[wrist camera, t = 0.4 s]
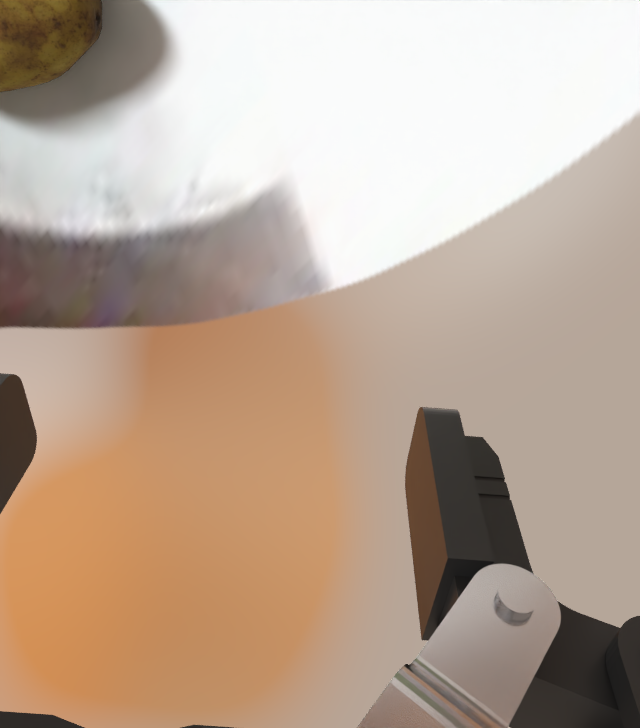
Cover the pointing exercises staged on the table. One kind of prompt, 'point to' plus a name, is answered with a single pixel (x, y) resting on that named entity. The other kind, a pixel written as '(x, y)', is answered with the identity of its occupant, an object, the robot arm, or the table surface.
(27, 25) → the potato
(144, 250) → the table surface
